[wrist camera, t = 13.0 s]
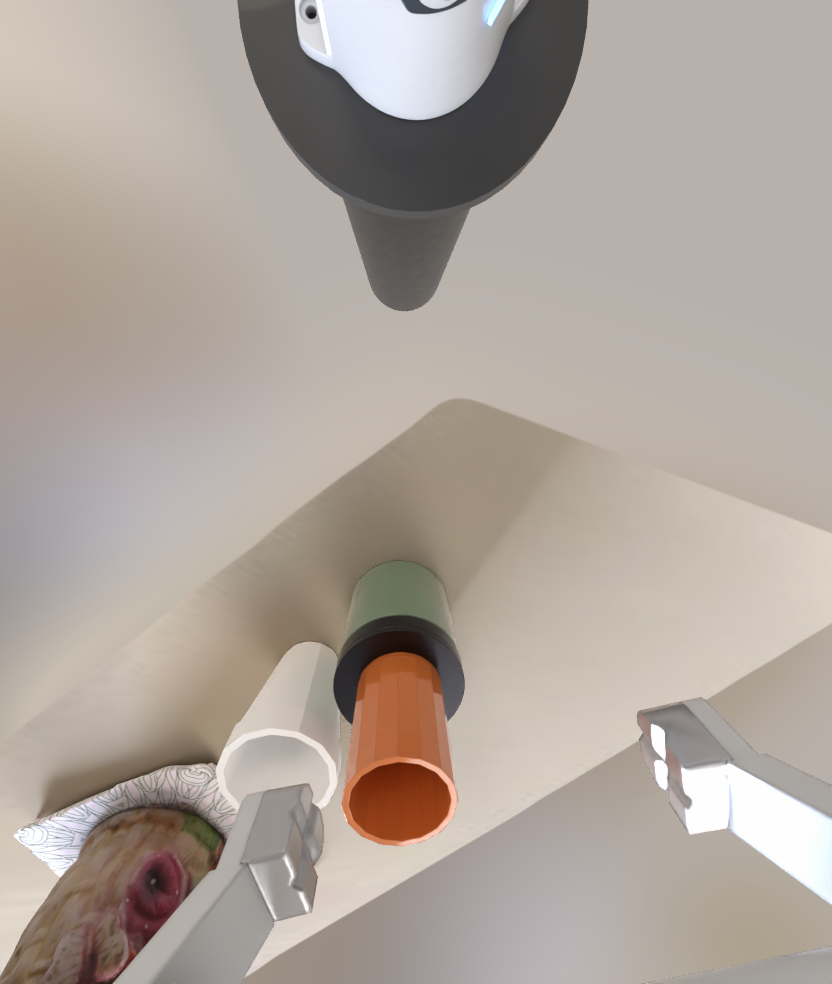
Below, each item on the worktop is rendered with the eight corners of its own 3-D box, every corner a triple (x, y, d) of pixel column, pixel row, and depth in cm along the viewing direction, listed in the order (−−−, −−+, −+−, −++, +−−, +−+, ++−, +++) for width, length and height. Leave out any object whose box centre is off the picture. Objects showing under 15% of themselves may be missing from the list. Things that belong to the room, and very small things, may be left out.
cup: (348, 661, 31) (328, 771, 22) (431, 643, 31) (444, 746, 22) (369, 729, 33) (358, 855, 24) (449, 712, 33) (467, 832, 24)
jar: (339, 572, 42) (318, 642, 31) (435, 550, 42) (449, 612, 31) (365, 654, 45) (353, 745, 34) (455, 634, 45) (473, 719, 34)
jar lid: (321, 630, 33) (316, 646, 31) (447, 602, 32) (450, 616, 30) (355, 732, 35) (352, 752, 33) (471, 706, 35) (475, 725, 33)
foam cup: (262, 695, 46) (210, 814, 33) (272, 622, 44) (220, 721, 31) (347, 707, 47) (328, 828, 34) (361, 636, 45) (347, 738, 32)
